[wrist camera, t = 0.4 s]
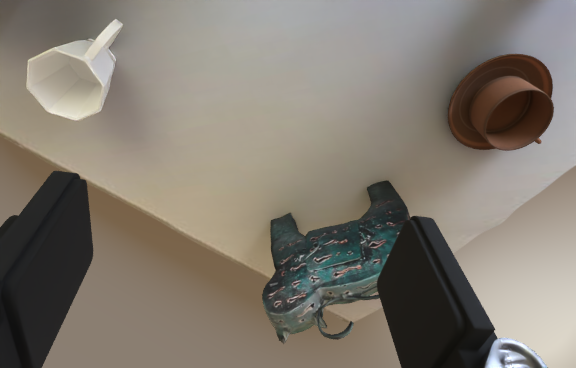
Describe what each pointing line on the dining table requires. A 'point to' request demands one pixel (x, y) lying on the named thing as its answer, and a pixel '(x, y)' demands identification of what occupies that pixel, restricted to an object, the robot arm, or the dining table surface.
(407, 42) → the dining table surface
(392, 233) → the ceramic cat
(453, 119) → the cup and saucer
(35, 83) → the cup
